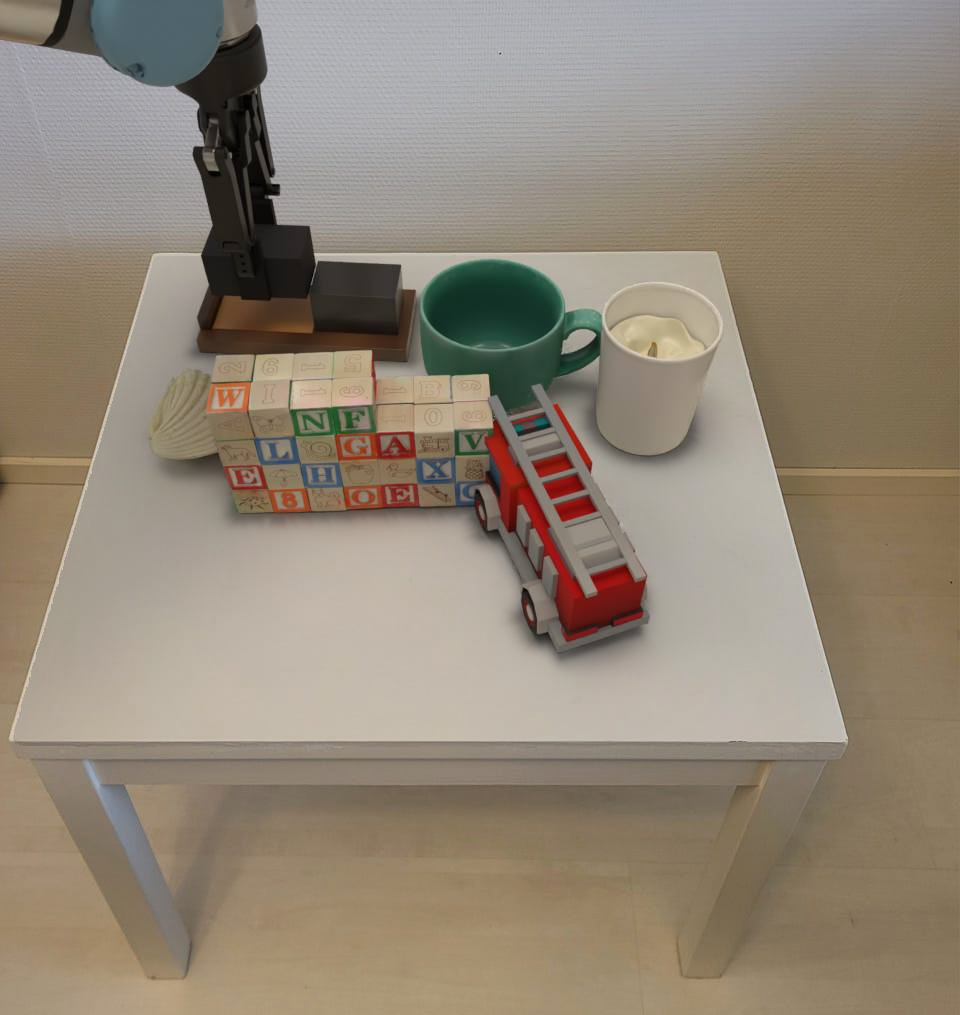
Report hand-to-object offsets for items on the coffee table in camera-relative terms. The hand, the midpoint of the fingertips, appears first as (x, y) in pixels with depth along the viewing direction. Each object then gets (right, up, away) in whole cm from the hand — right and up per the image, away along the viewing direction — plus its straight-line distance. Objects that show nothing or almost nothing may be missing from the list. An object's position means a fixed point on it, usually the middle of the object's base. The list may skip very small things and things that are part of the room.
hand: (262, 277), depth 91 cm
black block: (0, 0, 0) cm, 0 cm away
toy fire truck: (+26, -26, -13) cm, 39 cm away
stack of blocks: (+11, -20, -8) cm, 24 cm away
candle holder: (+35, -14, -4) cm, 38 cm away
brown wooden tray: (+4, -4, +4) cm, 7 cm away
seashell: (-4, -17, -6) cm, 18 cm away
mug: (+23, -10, -1) cm, 26 cm away
